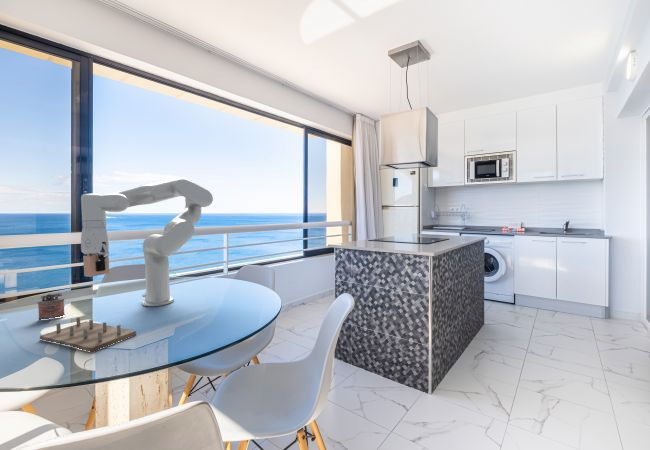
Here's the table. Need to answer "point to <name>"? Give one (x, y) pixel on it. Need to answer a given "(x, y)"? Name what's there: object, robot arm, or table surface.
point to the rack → (88, 335)
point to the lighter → (51, 306)
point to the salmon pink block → (94, 266)
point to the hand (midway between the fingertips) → (96, 270)
